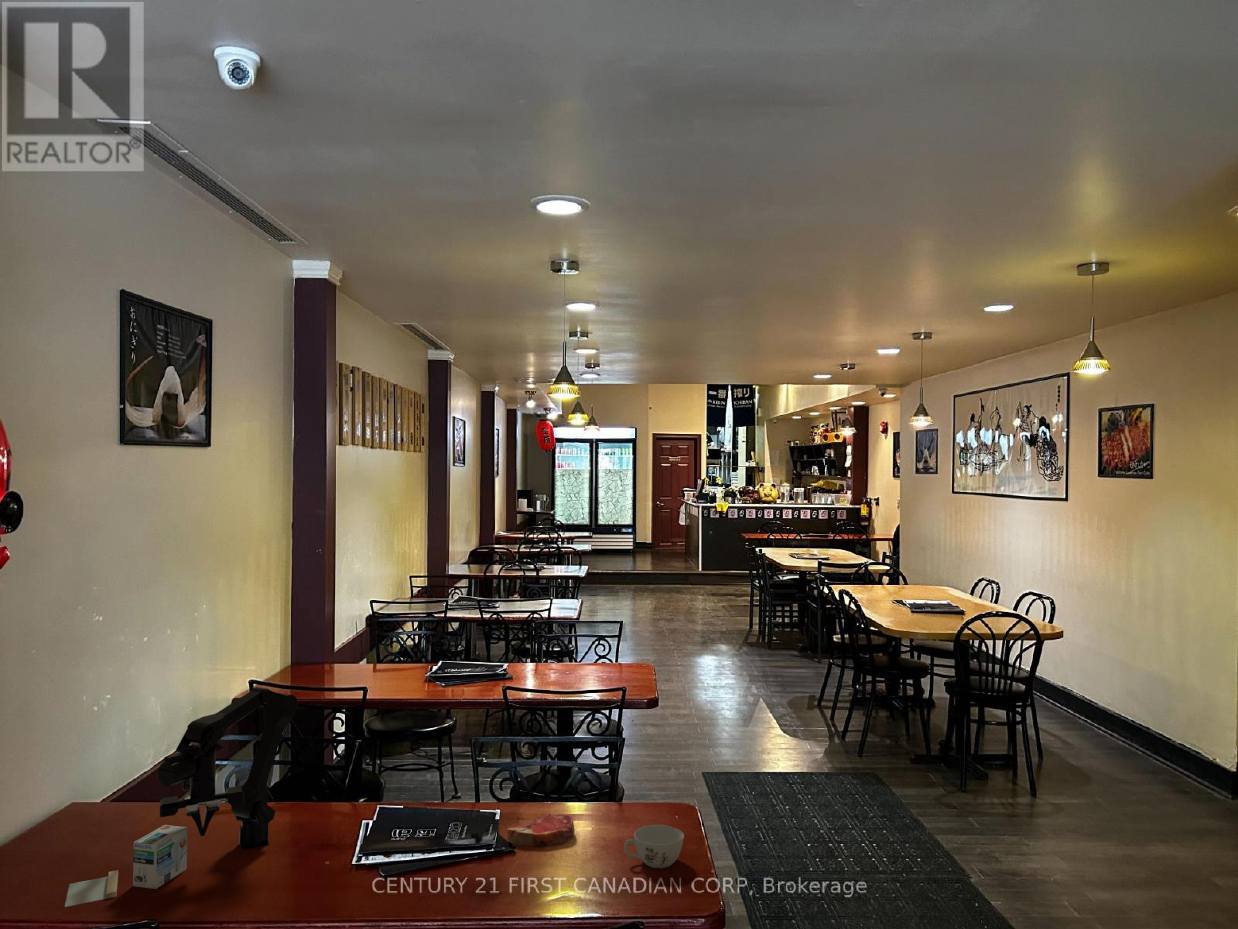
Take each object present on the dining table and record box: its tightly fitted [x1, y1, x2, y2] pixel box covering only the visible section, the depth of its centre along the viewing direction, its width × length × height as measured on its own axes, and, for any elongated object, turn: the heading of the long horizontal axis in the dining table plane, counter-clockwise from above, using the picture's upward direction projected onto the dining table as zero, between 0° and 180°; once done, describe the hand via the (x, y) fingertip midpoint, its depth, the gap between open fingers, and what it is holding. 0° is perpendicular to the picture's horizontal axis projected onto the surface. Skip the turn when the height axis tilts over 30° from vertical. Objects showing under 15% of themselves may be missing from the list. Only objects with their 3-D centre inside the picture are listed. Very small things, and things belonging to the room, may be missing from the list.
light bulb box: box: [132, 824, 188, 890], centre depth 206 cm, size 11×7×11 cm, turn 168°
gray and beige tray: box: [64, 869, 119, 908], centre depth 199 cm, size 10×12×2 cm
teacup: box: [623, 824, 685, 869], centre depth 214 cm, size 15×12×8 cm
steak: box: [506, 813, 575, 848], centre depth 227 cm, size 25×21×6 cm
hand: (202, 835), depth 210 cm, fingers closed
